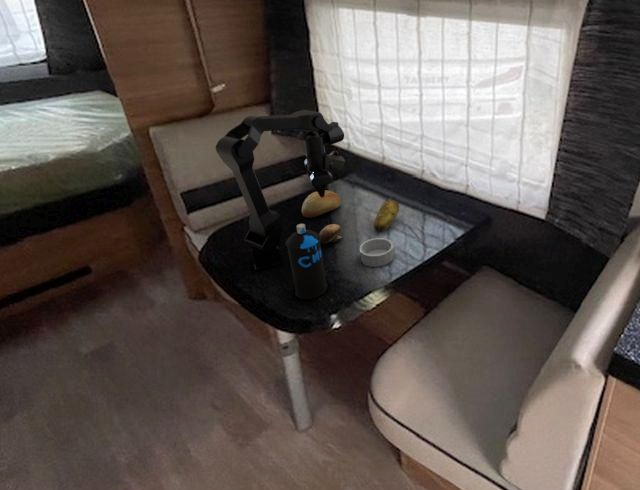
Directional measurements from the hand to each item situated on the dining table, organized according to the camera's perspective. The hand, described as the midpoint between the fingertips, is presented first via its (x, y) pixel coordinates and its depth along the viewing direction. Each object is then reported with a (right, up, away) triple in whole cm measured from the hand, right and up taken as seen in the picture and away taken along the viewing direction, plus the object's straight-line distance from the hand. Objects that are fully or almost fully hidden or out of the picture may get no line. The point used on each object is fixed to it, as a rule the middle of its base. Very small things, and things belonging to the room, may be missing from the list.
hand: (321, 194), depth 138 cm
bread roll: (-5, -7, +16) cm, 19 cm away
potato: (+20, -11, +8) cm, 24 cm away
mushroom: (+4, -15, -2) cm, 16 cm away
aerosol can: (+7, -25, -25) cm, 36 cm away
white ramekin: (+21, -19, -10) cm, 30 cm away
